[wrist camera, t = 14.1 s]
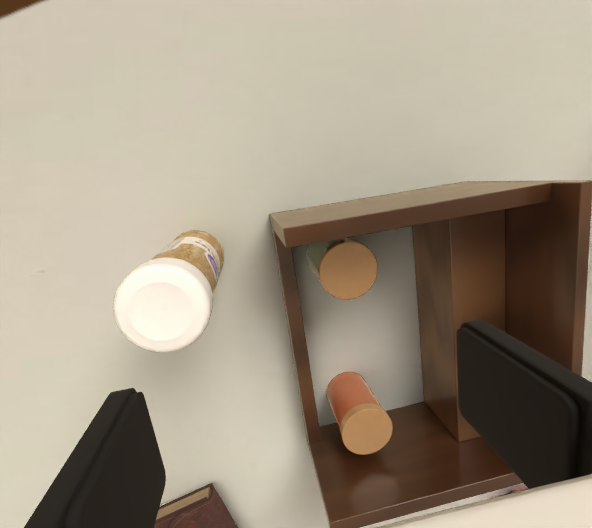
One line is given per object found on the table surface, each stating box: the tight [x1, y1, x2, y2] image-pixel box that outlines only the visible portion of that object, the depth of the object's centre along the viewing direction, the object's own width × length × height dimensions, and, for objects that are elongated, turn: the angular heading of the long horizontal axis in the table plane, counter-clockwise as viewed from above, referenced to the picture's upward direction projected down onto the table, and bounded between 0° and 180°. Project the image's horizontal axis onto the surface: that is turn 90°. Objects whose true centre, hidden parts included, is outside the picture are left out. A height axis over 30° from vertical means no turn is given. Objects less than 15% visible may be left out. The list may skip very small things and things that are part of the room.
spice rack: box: [270, 181, 592, 528], centre depth 28 cm, size 23×18×12 cm
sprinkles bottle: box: [113, 231, 223, 352], centre depth 23 cm, size 5×5×13 cm
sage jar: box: [306, 238, 377, 299], centre depth 29 cm, size 4×4×6 cm
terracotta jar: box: [326, 372, 393, 455], centre depth 32 cm, size 4×4×6 cm
